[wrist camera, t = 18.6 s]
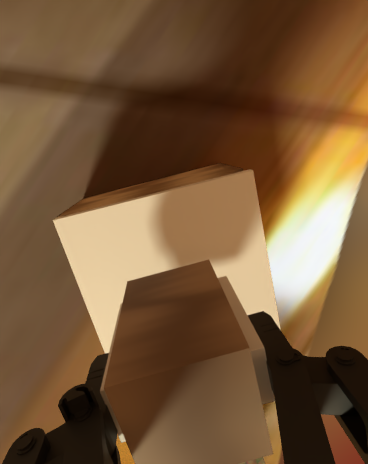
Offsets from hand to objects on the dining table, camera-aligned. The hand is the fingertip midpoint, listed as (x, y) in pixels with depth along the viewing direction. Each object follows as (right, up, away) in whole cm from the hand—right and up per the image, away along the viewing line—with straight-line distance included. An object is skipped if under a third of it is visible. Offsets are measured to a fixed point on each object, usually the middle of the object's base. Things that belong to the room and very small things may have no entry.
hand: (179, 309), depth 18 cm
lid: (0, +1, +5) cm, 5 cm away
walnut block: (0, 0, 0) cm, 0 cm away
